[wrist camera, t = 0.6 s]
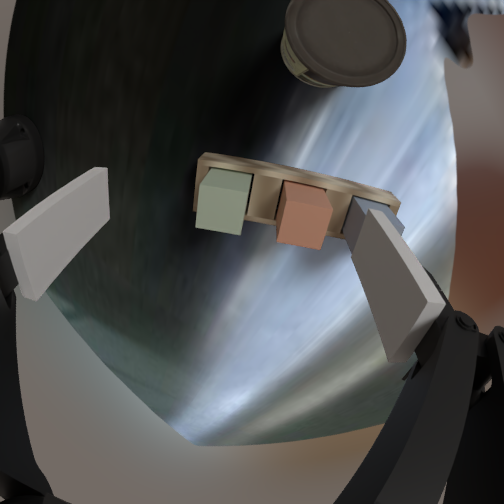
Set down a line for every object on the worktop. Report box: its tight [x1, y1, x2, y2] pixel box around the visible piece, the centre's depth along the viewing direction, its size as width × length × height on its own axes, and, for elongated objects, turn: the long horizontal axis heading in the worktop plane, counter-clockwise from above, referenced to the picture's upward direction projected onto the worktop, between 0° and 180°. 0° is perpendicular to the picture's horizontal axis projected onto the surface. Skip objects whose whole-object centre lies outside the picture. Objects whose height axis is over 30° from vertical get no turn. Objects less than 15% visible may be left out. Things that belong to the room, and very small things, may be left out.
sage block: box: [196, 167, 252, 235], centre depth 34 cm, size 5×5×7 cm
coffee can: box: [281, 0, 407, 88], centre depth 23 cm, size 10×10×14 cm
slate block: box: [342, 195, 405, 253], centre depth 34 cm, size 5×5×7 cm
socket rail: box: [193, 152, 401, 240], centre depth 38 cm, size 26×7×4 cm, turn 80°
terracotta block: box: [276, 180, 333, 250], centre depth 34 cm, size 5×5×7 cm
